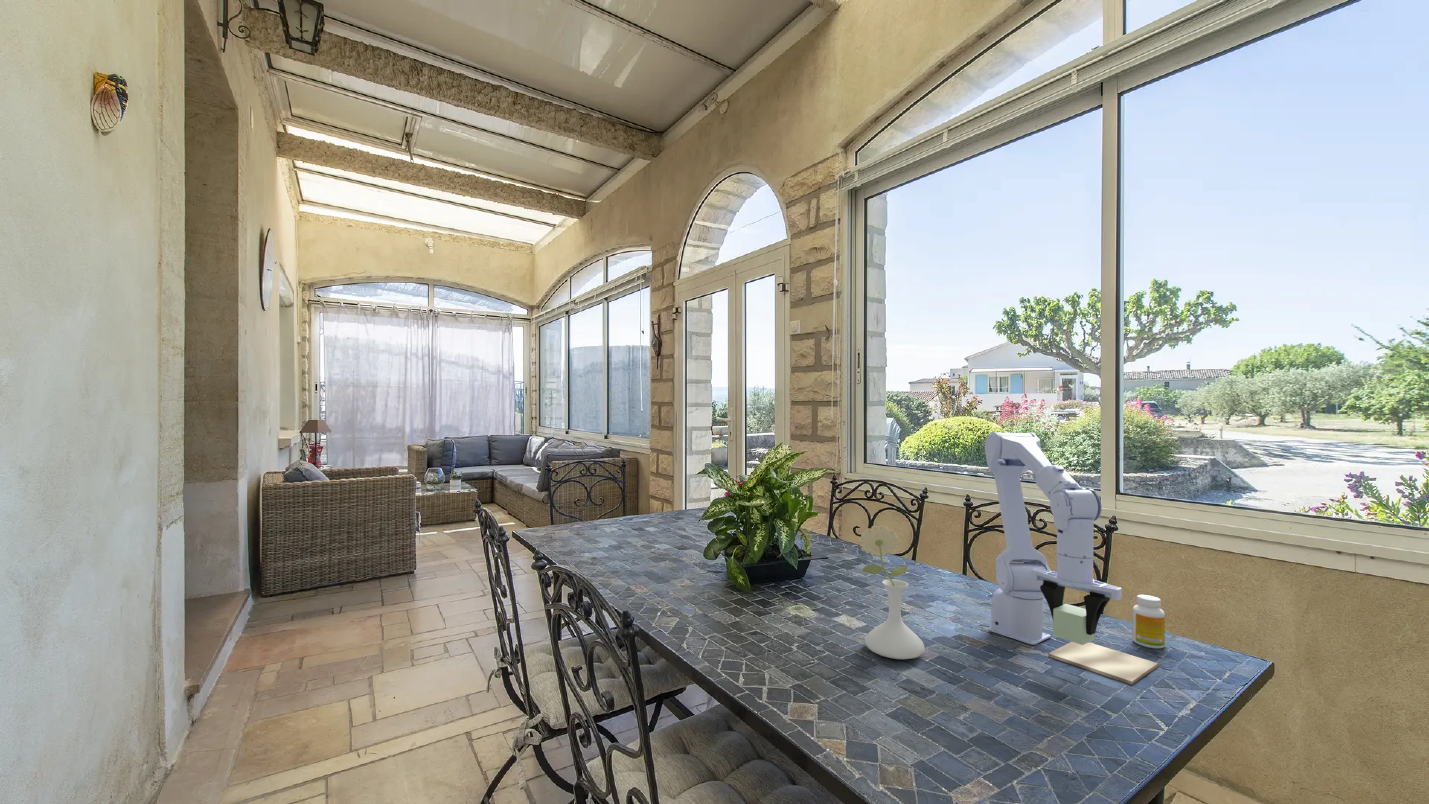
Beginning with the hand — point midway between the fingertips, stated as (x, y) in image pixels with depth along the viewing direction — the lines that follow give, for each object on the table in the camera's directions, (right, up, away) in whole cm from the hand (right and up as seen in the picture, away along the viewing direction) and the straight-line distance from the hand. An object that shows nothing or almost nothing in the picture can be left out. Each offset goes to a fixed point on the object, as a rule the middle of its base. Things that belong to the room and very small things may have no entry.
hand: (1073, 628), depth 106 cm
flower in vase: (-31, -8, +8) cm, 34 cm away
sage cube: (0, -2, 0) cm, 2 cm away
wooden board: (+9, -9, +6) cm, 14 cm away
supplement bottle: (+25, -9, +14) cm, 30 cm away
